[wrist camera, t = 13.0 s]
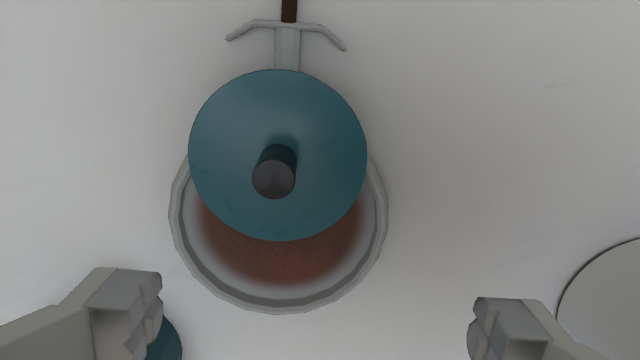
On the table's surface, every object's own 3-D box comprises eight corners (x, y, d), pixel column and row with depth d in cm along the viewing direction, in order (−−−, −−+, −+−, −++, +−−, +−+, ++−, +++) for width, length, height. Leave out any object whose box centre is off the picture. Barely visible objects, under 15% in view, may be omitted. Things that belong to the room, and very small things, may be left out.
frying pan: (431, -56, 24) (377, 326, 33) (418, -46, 27) (372, 304, 36) (146, -81, 24) (169, 316, 32) (163, -68, 26) (180, 295, 35)
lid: (382, 86, 27) (397, 96, 22) (345, 245, 31) (352, 280, 26) (199, 52, 26) (176, 55, 21) (186, 220, 30) (164, 253, 25)
